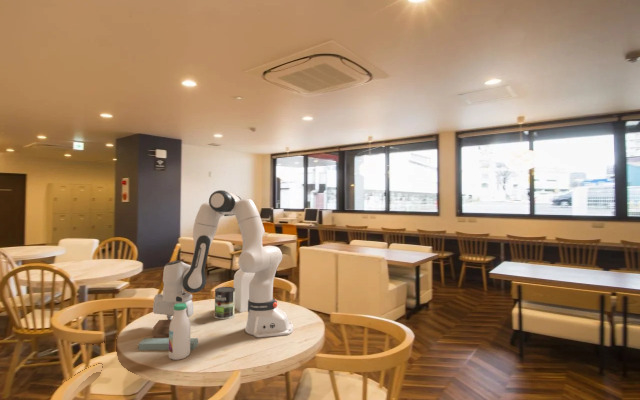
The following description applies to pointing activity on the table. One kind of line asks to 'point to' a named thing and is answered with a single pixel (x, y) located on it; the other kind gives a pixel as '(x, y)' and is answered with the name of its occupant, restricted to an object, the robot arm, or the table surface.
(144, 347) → the board
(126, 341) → the table surface
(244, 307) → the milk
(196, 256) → the robot arm
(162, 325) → the block
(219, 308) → the coffee can
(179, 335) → the milk bottle
